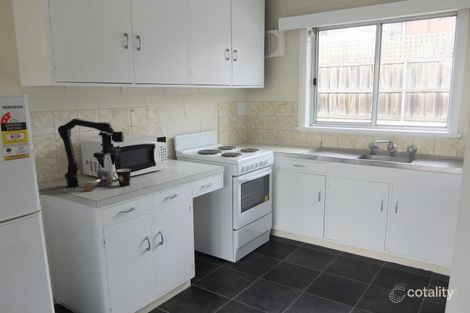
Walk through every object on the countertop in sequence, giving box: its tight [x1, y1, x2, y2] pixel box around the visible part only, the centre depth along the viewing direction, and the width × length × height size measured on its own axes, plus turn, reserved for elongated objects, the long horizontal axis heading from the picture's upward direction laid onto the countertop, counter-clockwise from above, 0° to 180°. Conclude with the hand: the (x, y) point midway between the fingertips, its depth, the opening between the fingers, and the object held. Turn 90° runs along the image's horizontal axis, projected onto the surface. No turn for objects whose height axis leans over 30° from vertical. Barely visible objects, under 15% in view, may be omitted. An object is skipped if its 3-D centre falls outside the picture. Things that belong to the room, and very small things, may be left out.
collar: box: [96, 169, 112, 187], centre depth 234 cm, size 3×8×9 cm, turn 68°
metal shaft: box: [83, 175, 113, 192], centre depth 230 cm, size 19×5×5 cm, turn 158°
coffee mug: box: [112, 168, 132, 188], centre depth 235 cm, size 12×9×10 cm
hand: (108, 166), depth 234 cm, fingers open, 9 cm apart
